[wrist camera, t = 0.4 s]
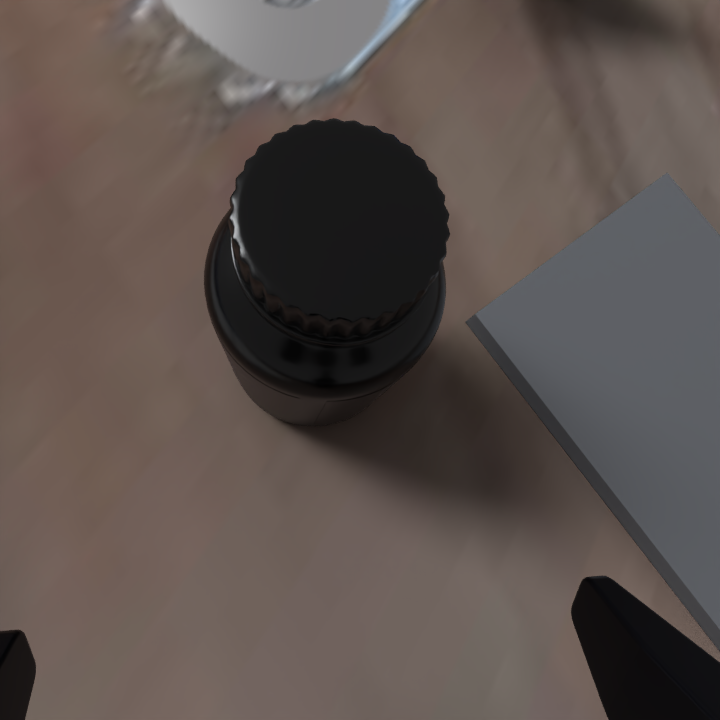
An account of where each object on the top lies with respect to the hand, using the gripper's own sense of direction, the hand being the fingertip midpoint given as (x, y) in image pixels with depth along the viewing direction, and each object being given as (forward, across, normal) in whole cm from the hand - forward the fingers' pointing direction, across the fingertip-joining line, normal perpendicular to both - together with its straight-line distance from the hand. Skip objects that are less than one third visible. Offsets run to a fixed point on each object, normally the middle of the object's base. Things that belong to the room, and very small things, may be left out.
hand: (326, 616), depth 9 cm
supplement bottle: (+15, -1, +3) cm, 15 cm away
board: (+13, -18, +5) cm, 23 cm away
